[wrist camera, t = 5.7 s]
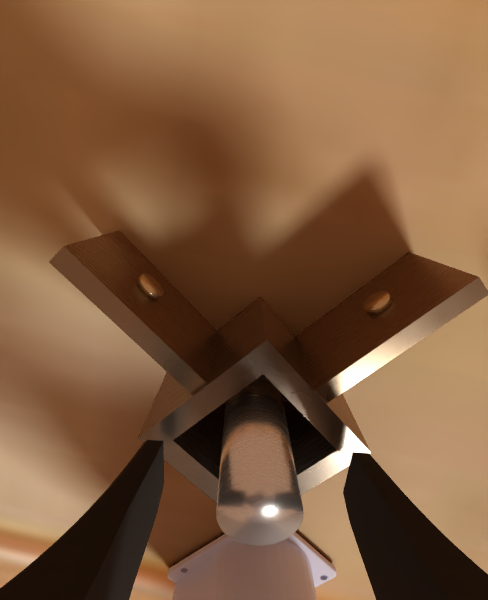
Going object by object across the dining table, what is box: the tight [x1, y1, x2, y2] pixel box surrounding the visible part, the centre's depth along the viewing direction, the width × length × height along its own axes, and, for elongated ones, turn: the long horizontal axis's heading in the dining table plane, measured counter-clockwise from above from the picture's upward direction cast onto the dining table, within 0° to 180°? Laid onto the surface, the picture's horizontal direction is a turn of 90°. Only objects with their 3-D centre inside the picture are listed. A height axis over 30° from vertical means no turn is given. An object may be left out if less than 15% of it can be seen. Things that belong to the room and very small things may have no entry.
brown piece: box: [49, 231, 488, 503], centre depth 14 cm, size 14×14×5 cm
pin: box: [216, 374, 303, 546], centre depth 14 cm, size 3×3×8 cm
